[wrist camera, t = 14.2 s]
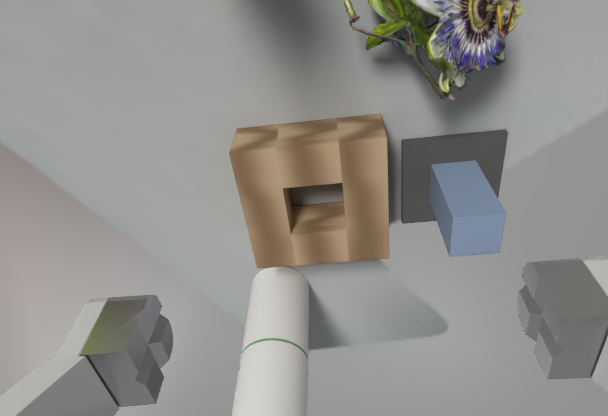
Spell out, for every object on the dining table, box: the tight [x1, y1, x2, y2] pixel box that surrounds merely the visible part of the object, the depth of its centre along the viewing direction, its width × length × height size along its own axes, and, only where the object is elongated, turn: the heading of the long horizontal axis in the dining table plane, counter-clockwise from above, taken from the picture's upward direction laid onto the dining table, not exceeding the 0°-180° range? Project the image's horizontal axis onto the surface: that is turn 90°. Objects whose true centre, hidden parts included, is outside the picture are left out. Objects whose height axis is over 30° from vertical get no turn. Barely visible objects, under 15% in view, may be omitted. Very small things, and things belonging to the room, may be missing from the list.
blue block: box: [429, 160, 506, 256], centre depth 44 cm, size 4×4×9 cm
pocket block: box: [229, 114, 389, 269], centre depth 47 cm, size 14×14×5 cm
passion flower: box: [344, 0, 523, 100], centre depth 35 cm, size 11×11×12 cm
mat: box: [401, 130, 508, 223], centre depth 48 cm, size 10×10×1 cm
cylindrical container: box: [232, 267, 309, 416], centre depth 48 cm, size 7×7×25 cm
